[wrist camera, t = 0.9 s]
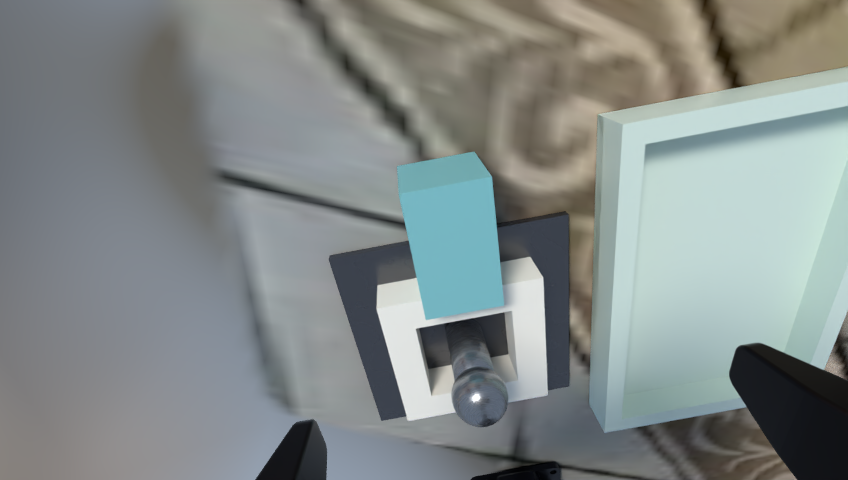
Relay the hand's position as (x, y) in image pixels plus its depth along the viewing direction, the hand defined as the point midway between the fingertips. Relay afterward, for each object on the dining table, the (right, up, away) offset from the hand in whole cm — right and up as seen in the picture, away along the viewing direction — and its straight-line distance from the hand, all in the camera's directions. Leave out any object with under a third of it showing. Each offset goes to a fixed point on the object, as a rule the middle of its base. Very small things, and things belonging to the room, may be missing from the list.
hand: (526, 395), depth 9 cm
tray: (+14, +2, +14) cm, 20 cm away
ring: (0, +1, +13) cm, 13 cm away
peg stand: (0, -2, +15) cm, 15 cm away
